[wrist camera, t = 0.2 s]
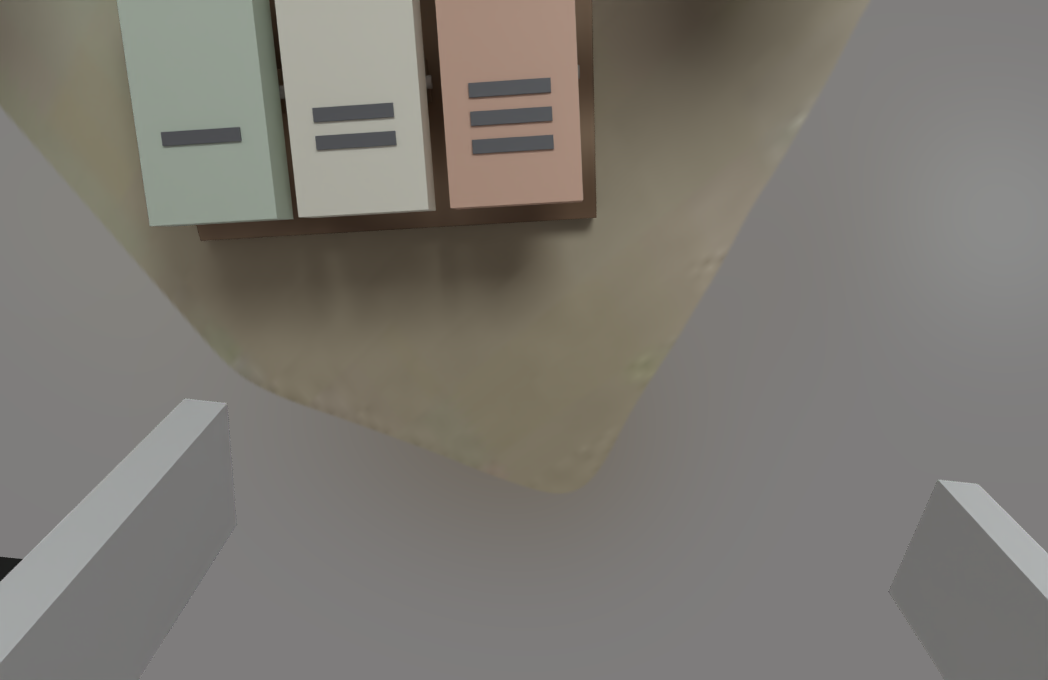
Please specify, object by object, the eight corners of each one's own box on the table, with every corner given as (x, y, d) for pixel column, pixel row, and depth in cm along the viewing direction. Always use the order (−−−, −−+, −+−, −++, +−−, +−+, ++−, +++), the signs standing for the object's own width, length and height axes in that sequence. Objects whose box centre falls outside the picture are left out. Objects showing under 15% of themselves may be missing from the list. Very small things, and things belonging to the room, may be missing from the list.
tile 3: (437, -60, 30) (428, -82, 28) (569, -71, 30) (571, -93, 28) (456, 209, 32) (450, 208, 30) (580, 201, 32) (583, 200, 30)
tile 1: (136, -37, 31) (106, -56, 29) (264, -47, 31) (242, -67, 28) (173, 226, 33) (148, 225, 31) (293, 219, 33) (275, 218, 30)
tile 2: (285, -49, 31) (265, -69, 28) (415, -59, 30) (405, -80, 28) (313, 217, 32) (297, 217, 30) (435, 210, 32) (428, 209, 30)
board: (127, -70, 32) (84, -81, 29) (588, -107, 31) (593, -122, 28) (208, 235, 38) (180, 253, 35) (594, 213, 37) (599, 228, 34)
